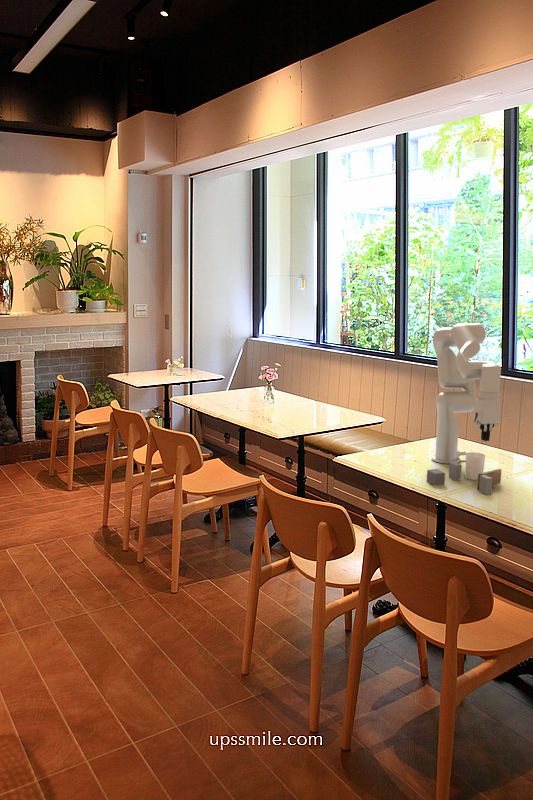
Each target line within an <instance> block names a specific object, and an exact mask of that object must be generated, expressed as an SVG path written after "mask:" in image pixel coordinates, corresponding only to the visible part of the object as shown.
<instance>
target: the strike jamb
mask: <svg viewBox="0 0 533 800" xmlns="http://www.w3.org/2000/svg"><path fill="white" fill-rule="evenodd" d="M448 478H450V479H452V480H454V481H461V479H462V464H461V463H460V462H458V463H456V462H450V464H449V469H448Z"/></svg>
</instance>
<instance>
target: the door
mask: <svg viewBox="0 0 533 800" xmlns="http://www.w3.org/2000/svg"><path fill="white" fill-rule="evenodd" d="M481 475H486V476H488V477H491V478H492V487H493V486H497V485H501V482H502V481H501V480H502V468H497V469H493V470H492V469H491V470H489V471H486V472H485V471H484V472H483V473H479V474H478V480H477V483H476V484H477V487H476V489H477V491H479V482H480V476H481Z"/></svg>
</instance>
